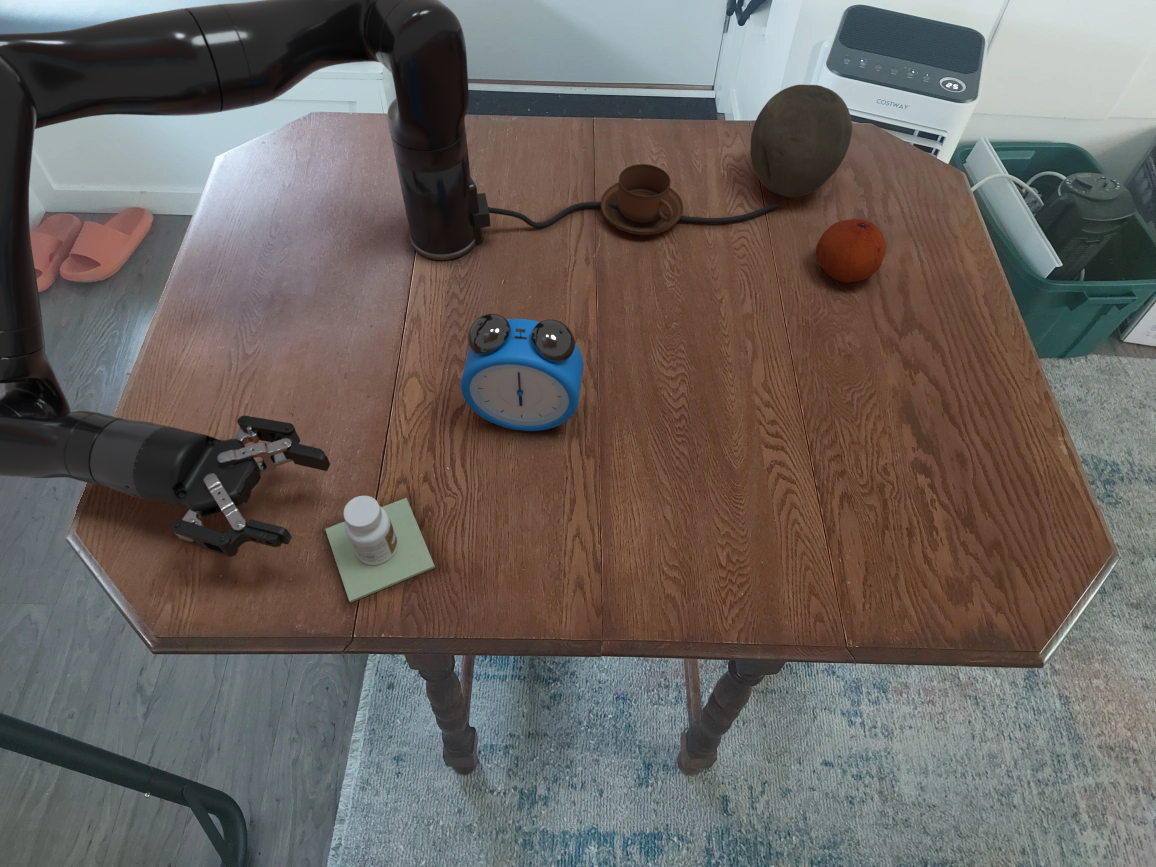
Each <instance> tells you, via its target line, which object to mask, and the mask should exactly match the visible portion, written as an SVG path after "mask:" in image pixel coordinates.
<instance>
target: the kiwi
mask: <svg viewBox="0 0 1156 867" xmlns="http://www.w3.org/2000/svg"><path fill="white" fill-rule="evenodd" d="M852 134H853V120H852V115H851V113H850V110H849V107H848V106H847V104H846V102H845V100H844V99H843V98H842V96H840V95H839V94H838V93H836V92H835V91H834V90H832V89H831V88H829V87H825V86H822V85H818V84H795V85H791V86H789V87H785V88H783V89H781V90H780V91H778V92H777V93H775V94H774V95H772V96H771V98H770V99H769V100H768V101H767V102H766V103H765V105H763V107H762V109H761V110H760V112H759V114H758V115H757V116H756V120H755V121H754V124H753V128H752V132H751V136H750V152H749V153H750V161H751V165H752V169H753V171H754V174H755V175H756V177H757V179H758V180H759V181H760V183H761V184H762V185H763V187H765V188H766V190H769V191H770V192H772V193H774V194H777V195H779V196H782V197H787V198H792V199H793V198H801V197H804V196H807V195H808V194H811V193H812V192H814V191H816V190H817V189H819V188H821V187H822V186H823V185H824V184H826V182H827V181H829V179H831V177H832V176H833V175H834V174H835V173H836V172H837V170H838V169H839V168H840V166H841V165H842V162H843V161H844V159H845V157H846V155H847V152H848V150H849V147H850V143H851V140H852V136H853V135H852Z"/></svg>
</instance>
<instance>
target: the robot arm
mask: <svg viewBox="0 0 1156 867" xmlns="http://www.w3.org/2000/svg"><path fill="white" fill-rule="evenodd" d="M466 45H467V44H466V38H465V33H464V30H463V27H462V25H461V21H460V20H459V18H458V16H457V15H456V14H455V13H454V12H453V10H451V9H450V8H449V7H448V6H447V5H446V4H444V3H443V2H442V1H441V0H255V1H245V2H231V3H230V2H229V3H218V4H209V5H201V6H193V7H185V8H176V9H171V10H165V11H160V12H159V11H158V12H153V13H145V14H140V15H135V16H130V17H124V18H119V19H118V18H117V19H114V20H109V21H106V22H105V21H104V22H101V23H97V24H92V25H88V26H83V27H78V28H73V29H67V30H57V31H44V32H15V33H13V32H12V33H0V384H3V392H2V393H0V477H4V478H20V479H21V478H22V479H24V478H26V479H28V478H29V479H31V478H32V479H53V478H56V479H57V478H69V479H72V480H76V481H79V482H84V483H88V484H92V485H95V486H100V487H104V488H108V489H110V490H112V491H114V492H117V493H120V494H123V495H127V496H130V497H131V498H134V499H139V500H140V499H141V500H147V501H151V502H155V503H158V504H162V505H167V506H170V507H175V508H180V509H182V510H183V509H184V510H187V511H186V513H185V514H184V516H183V517H182V518H181V519H180V518H178V519H175V520H173V521H172V522H171V523H170V529H171V531H172V532H173V533H174V535H176V536H177V538H178V539H179V540H180V541H181V542H182V543H185V544H187V545H190V546H194V547H197V548H200V549H203V550H206V551H209V552H213V553H215V554H219V555H222V556H224V557H228V558H231V557H234V556H236V555H237V554H238V552H239V549H240V547H241V546H242V545H244V544H245V543H247V542H251V543H255V544H260V545H265V546H268V547H273V548H280V547H281V546H282V544H283V545H289V544H290V542H291V540H292V538H293V537H292V535H291V532H289V530H288V529H287V528H286V527H284V526H280V525H275V524H271V523H266V522H263V521H259V520H256V519H251V518H250V519H249V520H248V521H247V520H246V519H245V517H244V516H243V514H242V512H241V511H240V509H239V507H240V506H242V505H243V504H247V503H248V501H249V500H250V498H251V496H252V491H253V489H254V488H255V487H257V485H258V484H259V482H260V481H261V478H262V476H261V475H262V474H266V473H269V472H273V471H274V470H276V469H277V467H278V466H281V465H284V464H288V463H291V462H293V463H294V465H298V466H302V467H305V468H310V469H315V470H320V471H323V472H327V471H328V470H329V468H330V466H331V462H330V459H329V457H328V456H327V455H326V453H325V451H324V450H322V449H321V448H318V447H314V446H310V445H306V444H302V443H301V438H300V436H299V435H298V432H297V431H296V429H295V426H294V424H293V423H291V422H286V421H280V420H274V419H268V418H263V417H257V416H250V415H240V416H239V417H238V418H237V421H236V422H237V425H238V426H239V427H238V429H237V431H236V433H235V434H234V436H233V438H229V439H219V438H216V437H213V436H210V435H207V434H204V433H199V432H195V431H190V430H186V429H181V428H177V427H173V426H168V425H164V424H160V423H155V422H152V421H145V420H136V419H135V420H134V419H127V418H122V417H118V416H113V415H109V414H105V413H101V412H96V411H89V410H76V411H72V410H71V407H70V405H69V402H68V400H67V397H66V395H65V393H64V391H63V388H62V386H61V385H60V382H59V381H58V378H57V375H56V373H55V371H54V369H53V366H52V365H51V363H50V361H49V358H48V355H47V353H46V343H45V341H46V340H45V333H44V324H43V323H44V322H43V316H42V308H41V301H40V293H39V286H38V280H37V274H36V269H35V268H36V266H35V261H34V254H33V248H32V240H31V226H30V182H31V171H32V170H31V169H32V158H33V150H34V149H33V147H34V139H35V130H37V129H40V128H45V127H48V126H52V125H57V124H61V123H65V122H70V121H74V120H79V119H84V118H91V117H98V116H99V117H100V116H114V115H115V116H116V115H117V116H118V115H119V116H120V115H121V116H151V117H152V116H153V117H154V116H156V117H158V116H162V117H165V116H166V117H167V116H168V117H181V116H182V117H183V116H185V117H187V116H188V117H189V116H203V115H211V114H218V113H225V112H229V111H235V110H241V109H247V108H251V107H256V106H259V105H263V104H266V103H269V102H271V101H274V100H276V99H277V98H279V97H281V96H283V95H284V94H285V93H287V92H289V91H290V90H291V89H293V88H294V87H295V86H297V85H298V84H299V83H301V82H302V81H304V80H305V79H306V78H307V77H309V76H311V75H312V74H313V73H315V72H317V71H320V70H323V69H325V68H328V67H333V66H339V65H344V64H351V63H354V64H355V63H364V62H369V63H371V62H374V63H380V64H381V65H383V66H384V68H386V69H387V70H388V71H389V72H390V73H391V76H392V81H393V86H394V92H395V99H393V101H391V103H390V104H389V106H388V109H387V116H386V117H387V125H388V129H389V130H388V131H389V134H390V138H391V144H392V149H393V154H394V159H395V164H396V169H397V174H398V179H399V185H400V190H401V194H402V200H403V205H404V210H405V215H406V220H407V225H408V231H409V238H410V244H411V246H412V248H413V250H414V251H415V252H416V253H417V254H419V255H420V256H422V257H424V258H427V259H430V260H434V261H449V260H455V259H458V258H460V257H463V256H464V255H466V254H468V253H469V252H470V251H472V249H473V248H474V247H475V246H476V245H478V244H482V242H483V236H482V228H489V227H491V218H490V214H495V215H502V216H508V217H513V218H516V219H520V220H521V221H523V222H524V223H525V224H527V225H528V226H530V227H532V228H534V229H543V228H546V227H549V226H551V225H553V224H555V223H556V222H558V221H560V220H561V219H562V218H564V217H565V216H567V215H568V214H570V213H572V212H575V211H577V210H580V209H587V208H596V209H597V208H598V209H599V208H600V209H601V201H587V202H578V203H575V204H572V205H570V206H568V207H566V208H565V209H563V210H562V211H560V212H559V213H558V214H556V215H555V216H553V217H552V218H549V219H548V220H545V221H542V222H541V221H540V222H539V221H538V222H535V221H533V220H532V219H531V218H530V217H528V216H526V215H525V214H523V213H522V212H519V211H518V212H517V211H514V210H509V209H505V208H504V209H503V208H496V207H491V206H489V204H488V200H487V194H486V193H485V192H479V193H478V186H477V184H476V183H475V181H474V180H473V178H472V176H471V167H470V159H469V148H468V140H467V129H466V121H465V120H466V119H465V118H466V116H467V112H468V109H469V103H470V92H469V73H468V72H469V71H468V56H467V54H468V53H467V46H466ZM608 206H610V207H611V208H614V209H616V210H619V209H618V206H617V205H615V204H608ZM776 209H778V204H777V203H772V204H769V205H766V206H764V207H761V208H759V209H756V210H754V211H752V212H748V213H745V214H741V215H735V216H727V217H698V216H687V215H681V217H680V219H679V221H678V222H682V223H683V222H684V223H692V224H693V223H694V224H695V223H696V224H711V225H713V224H728V223H729V224H730V223H735V222H736V223H737V222H742V221H745V220H749V219H752V218H755V217H757V216H760V215H762V214H765V213H768V212H771V211H773V210H776ZM619 211H620V210H619ZM663 215H664V216H666V217H668V216H669V214H665V213H664V214H663ZM673 217H675V215H673ZM673 217H672V218H673ZM659 218H661V217H659ZM260 441H261V442H260ZM266 442H267V443H266ZM249 443H254V444H251V445H248V446H245V445H247V444H249ZM255 458H261V459H262V460H259V461H256V460H255ZM219 513H223V515H224V516H225V518H226V519H227V521H228V523H229V525H230V526H231V527H230V529H228V530H227V531H226V532H221V531H219V530H215V529H212V528H209V527H206V526H205V524H204V523H203V521H201V518H207V517H210V516H214V515H217V514H219Z"/></svg>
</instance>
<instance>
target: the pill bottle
mask: <svg viewBox="0 0 1156 867" xmlns="http://www.w3.org/2000/svg"><path fill="white" fill-rule="evenodd" d="M382 507H383V506H381V505H380V503H379V502H378V501H377V499H375V498H374V497H372V496H370V495H359V496H355V497H353V498H351V499H350V500H349V501H348V502H347V503H346V504H345V506H344V509H343V518H344V521H345V532H346V534H347V536H348V538H349V541H350V543H351V545H352V547H353V549H354V551H355V553H356V555H357V557H358V558H359V559H360V560H361V561H362V562H364V563H366V564H370V565H378V564H382V563H384V562H386V561H388V560H389V559H390V558H391V557H392V556H393V555H394V554H395V552H396V550H397V546H398V541H397V537H396V534H395V532H394V529H393V526H392V524H391V521H390V518H389V516H388V514H387V512H386V511H385V510H384V509H383V508H382Z"/></svg>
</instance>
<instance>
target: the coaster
mask: <svg viewBox="0 0 1156 867" xmlns="http://www.w3.org/2000/svg"><path fill="white" fill-rule="evenodd" d="M381 507H382V508H383V509H384V510H385V511H386V512H387V514H388V516H389V518H390V521H391V524H392V526H393V529H394V532H395V534H396V537H397V541H398V546H397V550H396V552H395V554H394V555H393V556H392V557H391V558H390V559H389V560H388V561H386V562H384V563H382V564H378V565H370V564H366V563H364V562H362V561H361V560H360V559H359V558H358V557H357V555H356V553H355V551H354V549H353V547H352V545H351V543H350V541H349V538H348V536H347V534H346V532H345V520H344V521H342V522H339V523H337V524H333V525H332V526H329V527H326V528H325V530H324V531H325V532H326V536H327V539H328V543H329V545H330V548H331V551H332V554H333V558H334V560H335V563H336V566H337V570H338V572H339V575H340V578H341V582H342V584H343V587H344V590H345V593H346V597H347V599H348V602H349V603H350V604H352V603H354V602H356V601H358V600H360V599H363V598H365V597H368V596H371V595H373V594H375V593H378V592H380V591H382V590H385V589H388V588H390V587H392V586H395V585H397V584H399V583H402V582H405V581H406V580H410V579H412V578H414V577H416V576H419V575H421V574H423V573H426V572H429V571H431V570H433V569H435V568H436V566H435V564H434V560H433V558H432V556H431V554H430V550H429V549H428V546H427V544H426V541H425V539H424V537H423V534H422V531H421V529H420V527H419V524H418V522H417V519H416V517H415V515H414V512H413V509H412V507H411V505H410V503H409V500H408V498H407V497H405V498H402V499H399V500H396V501H394V502H391V503H389V504H386V505H383V506H381Z"/></svg>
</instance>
